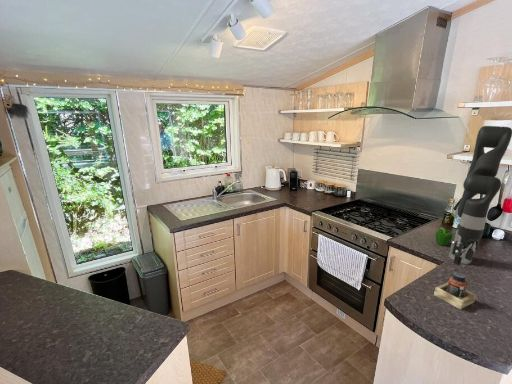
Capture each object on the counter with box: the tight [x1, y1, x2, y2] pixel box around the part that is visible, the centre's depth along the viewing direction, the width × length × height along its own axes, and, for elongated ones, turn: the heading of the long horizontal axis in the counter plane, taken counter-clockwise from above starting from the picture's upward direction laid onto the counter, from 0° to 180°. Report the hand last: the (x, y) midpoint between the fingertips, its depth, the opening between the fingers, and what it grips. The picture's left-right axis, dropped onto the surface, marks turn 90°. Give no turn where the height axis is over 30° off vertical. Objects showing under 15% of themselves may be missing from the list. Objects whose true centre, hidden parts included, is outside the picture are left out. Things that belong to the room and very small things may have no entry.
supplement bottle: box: [446, 272, 468, 299], centre depth 110 cm, size 6×6×11 cm
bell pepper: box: [435, 227, 454, 246], centre depth 161 cm, size 8×8×10 cm
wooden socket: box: [433, 281, 477, 310], centre depth 111 cm, size 10×10×4 cm
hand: (462, 261), depth 107 cm, fingers open, 8 cm apart
